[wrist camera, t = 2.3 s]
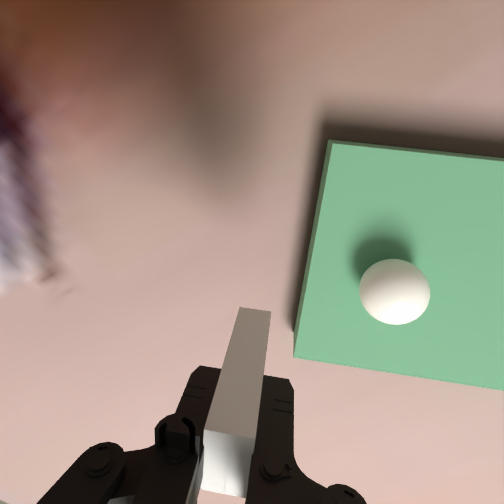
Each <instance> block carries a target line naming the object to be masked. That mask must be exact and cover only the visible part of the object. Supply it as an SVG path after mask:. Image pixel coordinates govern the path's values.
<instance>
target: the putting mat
mask: <svg viewBox="0 0 504 504" xmlns="http://www.w3.org/2000/svg"><path fill="white" fill-rule="evenodd" d="M386 259H400V260H404V261H407V262H409V263H412V264H413V265H415V266H416V267H417V268H419V269H420V270H421V271H422V273H423V274H424V275H425V277H426V279H427V280H428V283H429V287H430V300H429V303H428V306H427V308H426V310H425V311H424V312H423V313H422V315H421V316H419V317H418V318H417V319H415V320H414V321H411V322H409V323H406V324H400V325H393V324H387V323H383V322H381V321H379V320H377V319H375V318H374V317H372V316H371V315H370V314H369V313H368V312H367V311H366V310H365V308H364V307H363V305H362V302H361V300H360V296H359V284H360V281H361V278H362V276H363V274H364V273H365V271H366V270H367V269H368V268H369V267H370V266H372V265H373V264H375V263H377V262H379V261H382V260H386ZM293 357H294V358H300V359H306V360H313V361H319V362H325V363H332V364H338V365H344V366H351V367H357V368H363V369H370V370H376V371H382V372H389V373H395V374H401V375H408V376H414V377H420V378H426V379H433V380H439V381H445V382H452V383H458V384H464V385H471V386H477V387H483V388H490V389H496V390H502V391H504V158H500V157H491V156H481V155H472V154H462V153H453V152H443V151H434V150H424V149H415V148H406V147H396V146H387V145H377V144H368V143H358V142H349V141H339V140H330V139H328V143H327V148H326V154H325V160H324V165H323V171H322V177H321V182H320V188H319V194H318V199H317V205H316V211H315V216H314V222H313V228H312V233H311V239H310V244H309V250H308V256H307V261H306V267H305V273H304V278H303V284H302V290H301V295H300V301H299V307H298V312H297V318H296V324H295V329H294V355H293Z"/></svg>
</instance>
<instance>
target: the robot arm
mask: <svg viewBox="0 0 504 504" xmlns="http://www.w3.org/2000/svg"><path fill="white" fill-rule="evenodd" d="M270 318H271V312H270V311H263V310H256V309H249V308H243V307H240V308H239V312H238V315H237V318H236V322H235V325H234V329H233V332H232V335H231V339H230V342H229V346H228V349H227V352H226V356H225V359H224V363H223V366H222V369H218V368H212V367H206V366H199V367H198V368H197V369H196V370H195V371H194V372H193V373H192V374H191V375H190V378H189V380H188V383H187V386H186V388H185V390H184V393H183V396H182V397H181V400H180V402H179V405H178V407H177V410H176V412H175V413H174V414H171V415H168V416H166V417H165V418H163V419H162V420H161V421H159V423H158V424H157V426H156V427H155V445H153V446H151V447H149V448H145V449H141V450H134V451H127V452H124V451H123V448H121V447H120V446H119V445H118V444H116V443H111V442H104V443H99V444H97V445H94V446H92V447H90V448H89V449H88V450H86V451H85V452H84V453H83V454H82V455H81V456H80V457H79V458H78V459H77V460H76V461H75V462H74V463H73V464H72V465H71V467H70V468H69V469H68V470H67V471H66V472H65V473H64V474H63V475H62V476H61V477H60V479H59V480H58V481H57V482H56V483H55V484H54V485H53V486H52V487H51V488H50V489H49V491H48V492H47V493H46V494H45V495H44V496H43V497H42V498H41V499H40V500H39V501H38V503H37V504H197V498H198V494H199V490H200V486H201V489H202V490H207V491H212V492H217V493H222V494H227V495H233V496H238V497H243V498H246V501H245V504H367V503H366V502H365V500H364V498H363V497H362V496H361V495H360V494H359V493H358V492H357V491H356V490H354V489H352V488H351V487H349V486H347V485H342V484H335V485H331V486H329V487H328V488H325V487H323V486H322V485H320V484H318V483H316V482H314V481H313V480H311V479H310V478H308V477H307V476H306V475H305V474H304V473H303V472H302V471H301V470H300V468H299V467H298V465H297V464H296V461H295V458H294V390H293V387H292V385H291V383H290V381H289V379H284V378H278V377H272V376H266V375H263V374H264V366H265V358H266V350H267V342H268V334H269V326H270Z"/></svg>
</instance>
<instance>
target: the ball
mask: <svg viewBox="0 0 504 504" xmlns="http://www.w3.org/2000/svg"><path fill="white" fill-rule="evenodd" d="M359 296H360V300H361V302H362V305H363V307H364V308H365V310H366V311H367V312H368V313H369V314H370V315H371V316H372V317H374V318H375V319H377V320H379V321H381V322H383V323H387V324H393V325H400V324H406V323H409V322H411V321H414V320H415V319H417V318H418V317H419V316H421V315H422V313H423V312H424V311H425V310H426V308H427V306H428V303H429V300H430V287H429V283H428V280H427V279H426V277H425V275H424V274H423V273H422V271H421V270H420V269H419V268H417V267H416V266H415V265H413V264H412V263H409V262H407V261H404V260H400V259H386V260H382V261H379V262H377V263H375V264H373V265H372V266H370V267H369V268H368V269H367V270H366V271H365V273H364V274H363V276H362V278H361V281H360V284H359Z"/></svg>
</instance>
